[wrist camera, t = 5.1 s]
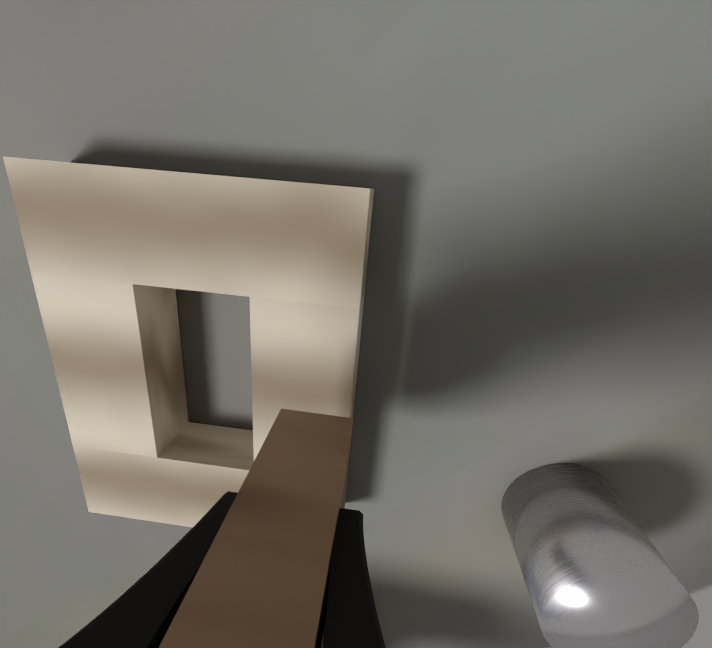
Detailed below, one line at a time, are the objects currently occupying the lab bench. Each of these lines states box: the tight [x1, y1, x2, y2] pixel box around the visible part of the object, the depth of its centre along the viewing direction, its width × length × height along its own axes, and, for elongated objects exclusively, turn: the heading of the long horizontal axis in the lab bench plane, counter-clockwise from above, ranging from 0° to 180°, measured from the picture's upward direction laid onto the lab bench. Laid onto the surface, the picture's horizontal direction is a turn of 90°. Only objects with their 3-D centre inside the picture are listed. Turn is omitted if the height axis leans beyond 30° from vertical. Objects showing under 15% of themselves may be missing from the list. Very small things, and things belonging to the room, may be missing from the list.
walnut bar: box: [159, 408, 354, 648], centre depth 10 cm, size 5×2×7 cm, turn 175°
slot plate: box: [3, 157, 374, 527], centre depth 18 cm, size 18×14×3 cm
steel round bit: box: [502, 463, 698, 648], centre depth 18 cm, size 6×6×6 cm
